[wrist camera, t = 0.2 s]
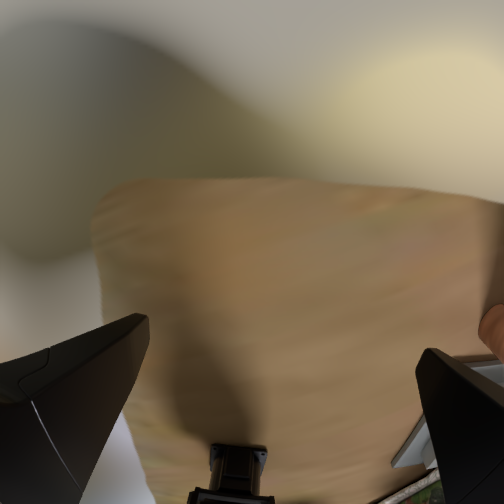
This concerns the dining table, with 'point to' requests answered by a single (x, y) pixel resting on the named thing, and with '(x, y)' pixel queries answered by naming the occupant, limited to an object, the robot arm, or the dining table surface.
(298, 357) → the dining table surface
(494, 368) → the socket block
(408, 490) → the cookie jar
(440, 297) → the dining table surface
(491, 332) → the peg
